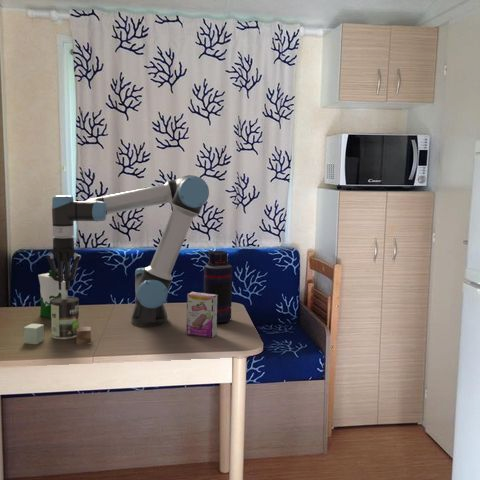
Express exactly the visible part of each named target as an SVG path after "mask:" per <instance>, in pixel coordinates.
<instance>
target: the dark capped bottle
mask: <svg viewBox="0 0 480 480" xmlns="http://www.w3.org/2000/svg"><path fill="white" fill-rule="evenodd" d="M203 274H204V275H203V293H206V294H214V295H217V323H225V322H226V323H227V324H228V322H229V321H230V322H231V320H232V304H233V303H232V299H233V298H232V297H233V292H232V291H233V275H232V274H233V265H231V264H230V263H229V259H228V252H227V251H224V250H210V251H208V262H207V263H206V264H205V265H203ZM230 322H229V323H230Z"/></svg>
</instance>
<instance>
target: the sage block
mask: <svg viewBox="0 0 480 480" xmlns="http://www.w3.org/2000/svg"><path fill="white" fill-rule="evenodd" d="M44 327H45V325H44V324H41V323H29V324H28V325H26V326H24V327H23V334H24V335H23V337H24V338H23V339H24V340H23V341H24V344H29V345H30V344H31V345H38V344H40V343H41V342H43V341H45V328H44Z"/></svg>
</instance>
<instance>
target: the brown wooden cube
mask: <svg viewBox="0 0 480 480" xmlns="http://www.w3.org/2000/svg"><path fill="white" fill-rule="evenodd" d="M76 333H77V337H76V345H86V344H87V345H89V344H88V343H91V344H92V327H91V326H79V327H77V331H76Z"/></svg>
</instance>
